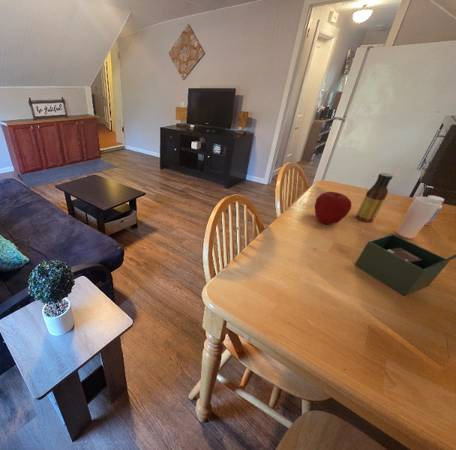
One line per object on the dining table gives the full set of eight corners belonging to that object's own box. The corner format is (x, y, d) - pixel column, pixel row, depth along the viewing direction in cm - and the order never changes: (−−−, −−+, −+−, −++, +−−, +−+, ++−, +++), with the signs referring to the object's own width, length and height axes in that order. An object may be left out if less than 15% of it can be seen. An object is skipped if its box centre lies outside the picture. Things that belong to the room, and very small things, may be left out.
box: (408, 278, 73) (423, 259, 69) (393, 281, 72) (406, 262, 68) (388, 265, 78) (400, 247, 74) (373, 268, 77) (385, 249, 73)
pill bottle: (431, 227, 99) (449, 202, 93) (411, 223, 102) (428, 198, 96) (427, 221, 103) (444, 197, 97) (409, 217, 106) (424, 193, 100)
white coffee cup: (389, 229, 97) (410, 195, 89) (409, 231, 96) (432, 197, 88) (400, 239, 91) (424, 203, 83) (421, 241, 90) (447, 205, 82)
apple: (348, 229, 97) (364, 199, 90) (319, 229, 97) (332, 198, 90) (330, 214, 107) (343, 186, 100) (303, 214, 107) (314, 186, 100)
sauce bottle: (367, 215, 107) (390, 171, 96) (376, 223, 101) (402, 177, 91) (351, 214, 107) (373, 171, 96) (360, 222, 102) (384, 176, 91)
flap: (450, 258, 66) (452, 259, 66) (425, 268, 62) (426, 269, 62) (480, 244, 61) (482, 246, 60) (454, 255, 57) (456, 256, 57)
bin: (429, 285, 71) (449, 260, 66) (404, 296, 68) (424, 270, 63) (378, 257, 82) (392, 234, 77) (354, 265, 79) (368, 241, 74)
